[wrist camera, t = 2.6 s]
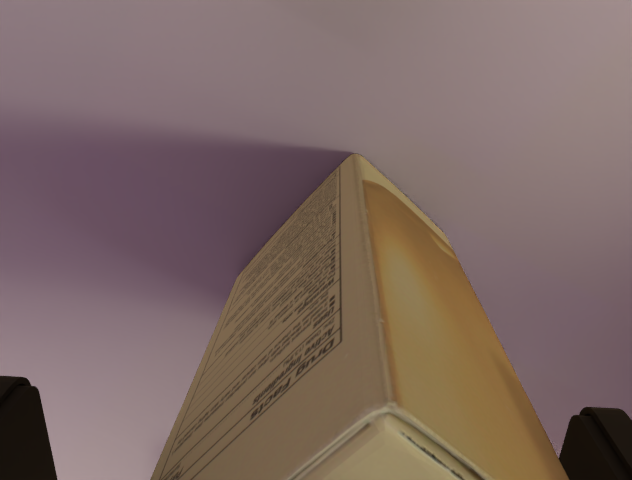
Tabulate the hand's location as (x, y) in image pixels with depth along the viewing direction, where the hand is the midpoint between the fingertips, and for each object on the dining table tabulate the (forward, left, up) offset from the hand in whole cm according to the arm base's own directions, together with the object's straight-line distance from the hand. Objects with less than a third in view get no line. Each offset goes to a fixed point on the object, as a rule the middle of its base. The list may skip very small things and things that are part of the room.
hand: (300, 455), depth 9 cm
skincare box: (-1, 0, -9) cm, 9 cm away
